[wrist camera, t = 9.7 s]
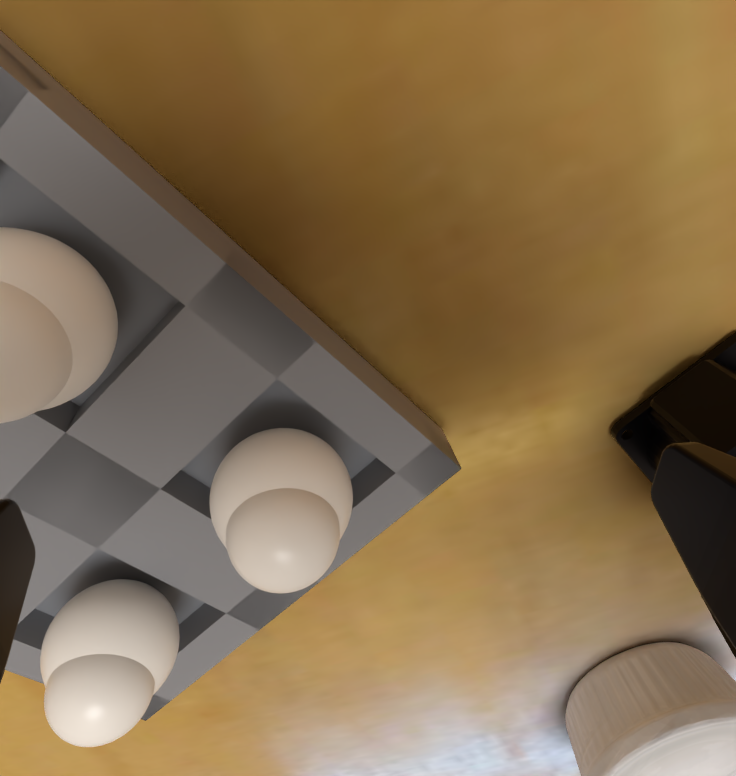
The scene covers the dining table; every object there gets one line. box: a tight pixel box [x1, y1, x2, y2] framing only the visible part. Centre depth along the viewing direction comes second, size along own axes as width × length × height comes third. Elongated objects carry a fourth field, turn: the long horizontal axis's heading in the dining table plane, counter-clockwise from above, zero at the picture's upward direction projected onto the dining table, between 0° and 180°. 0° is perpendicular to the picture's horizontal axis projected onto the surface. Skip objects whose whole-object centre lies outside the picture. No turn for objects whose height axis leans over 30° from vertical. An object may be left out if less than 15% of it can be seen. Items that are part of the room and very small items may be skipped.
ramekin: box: [565, 642, 736, 776], centre depth 32 cm, size 11×11×5 cm
